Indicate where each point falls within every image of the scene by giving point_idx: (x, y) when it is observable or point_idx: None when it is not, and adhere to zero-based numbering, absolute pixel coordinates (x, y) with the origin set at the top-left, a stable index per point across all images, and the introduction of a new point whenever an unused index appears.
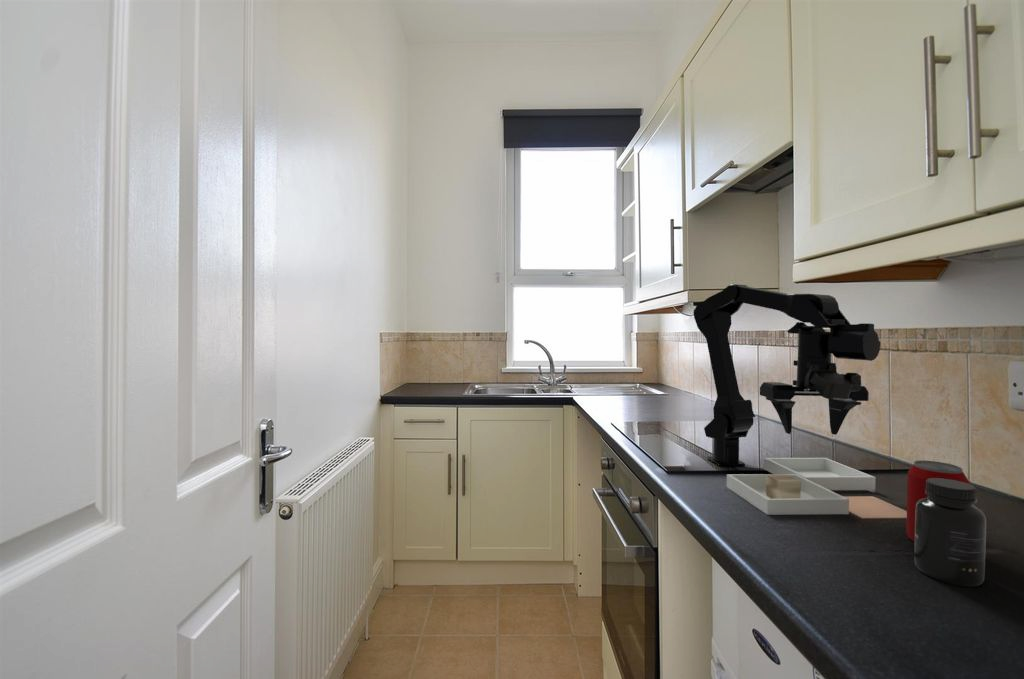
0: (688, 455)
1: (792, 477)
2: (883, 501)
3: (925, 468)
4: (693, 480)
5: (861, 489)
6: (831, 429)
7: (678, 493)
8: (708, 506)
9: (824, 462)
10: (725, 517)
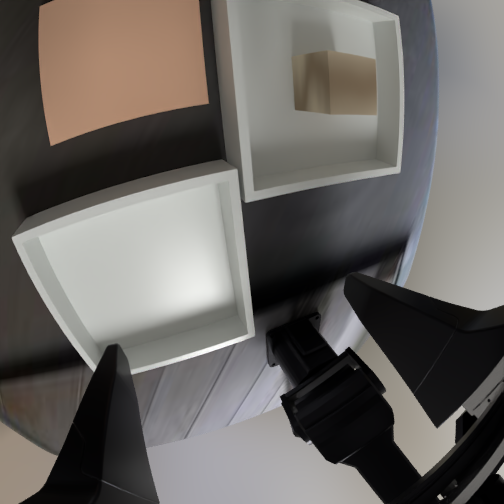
0: None
1: (331, 84)
2: (46, 104)
3: None
4: (396, 209)
5: (56, 208)
6: (130, 377)
7: (433, 140)
8: (423, 81)
9: None
10: (417, 38)
